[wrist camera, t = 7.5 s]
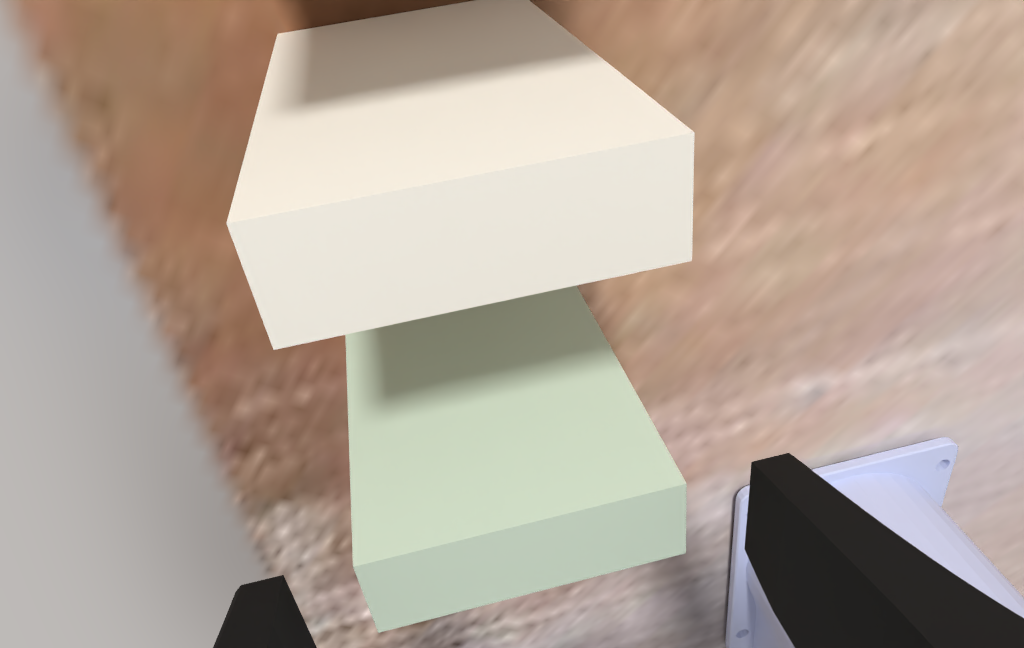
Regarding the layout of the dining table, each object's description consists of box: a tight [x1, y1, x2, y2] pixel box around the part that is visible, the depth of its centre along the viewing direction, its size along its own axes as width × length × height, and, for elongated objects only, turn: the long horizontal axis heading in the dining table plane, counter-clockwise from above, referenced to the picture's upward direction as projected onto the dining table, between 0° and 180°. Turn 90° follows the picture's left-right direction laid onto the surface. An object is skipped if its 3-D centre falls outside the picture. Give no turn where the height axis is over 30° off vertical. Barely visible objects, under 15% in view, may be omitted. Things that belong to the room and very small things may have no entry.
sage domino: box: [346, 286, 686, 633], centre depth 15 cm, size 2×5×9 cm, turn 98°
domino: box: [227, 0, 694, 350], centre depth 12 cm, size 2×5×9 cm, turn 98°
